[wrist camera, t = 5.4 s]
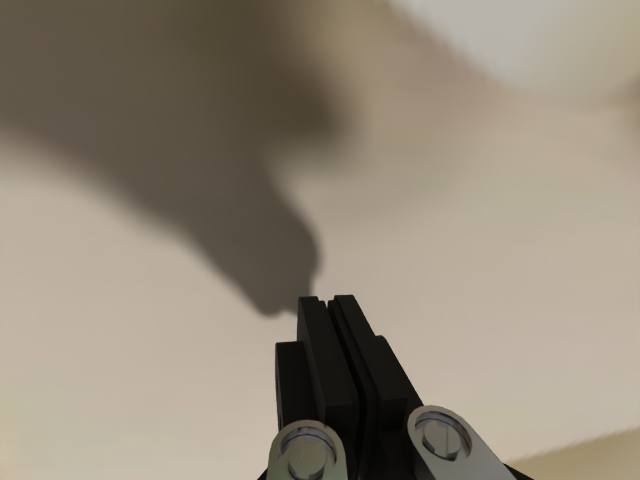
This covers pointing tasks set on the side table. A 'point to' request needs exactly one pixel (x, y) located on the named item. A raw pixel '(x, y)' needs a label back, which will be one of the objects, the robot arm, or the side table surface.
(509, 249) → the side table surface
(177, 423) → the side table surface
